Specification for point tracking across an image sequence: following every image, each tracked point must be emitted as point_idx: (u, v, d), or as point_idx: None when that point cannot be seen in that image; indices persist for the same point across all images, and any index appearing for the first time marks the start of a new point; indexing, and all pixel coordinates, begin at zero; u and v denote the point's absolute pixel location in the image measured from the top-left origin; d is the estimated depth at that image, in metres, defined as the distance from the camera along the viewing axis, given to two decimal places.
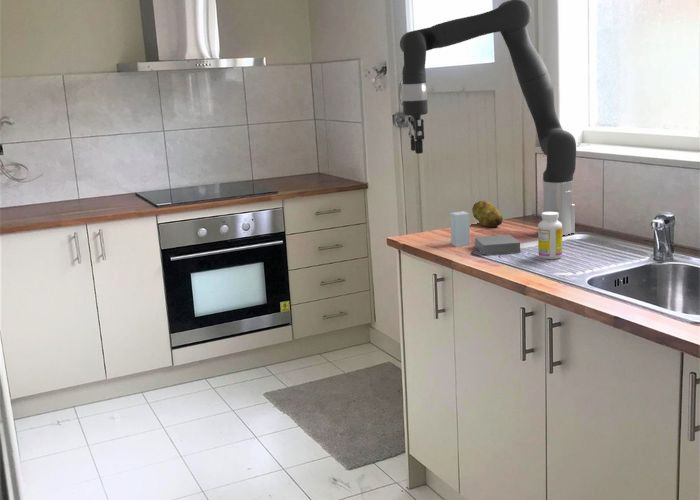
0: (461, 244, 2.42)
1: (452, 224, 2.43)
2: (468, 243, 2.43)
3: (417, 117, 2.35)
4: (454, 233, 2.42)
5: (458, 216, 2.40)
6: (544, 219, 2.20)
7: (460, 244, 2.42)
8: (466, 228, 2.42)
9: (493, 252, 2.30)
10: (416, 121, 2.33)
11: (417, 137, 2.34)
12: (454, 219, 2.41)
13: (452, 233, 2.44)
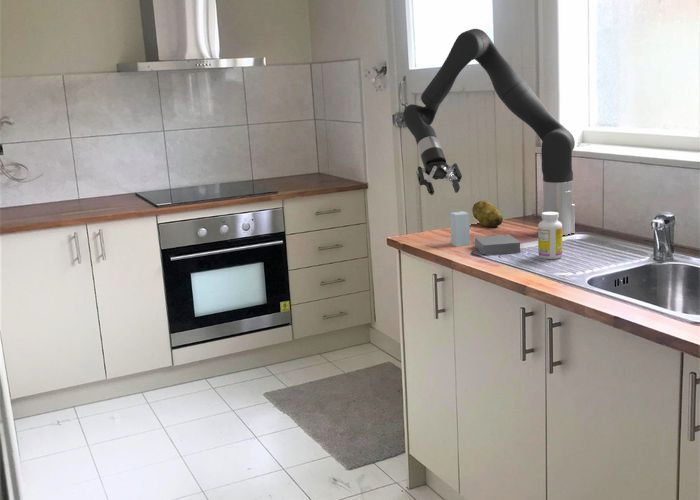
0: (461, 244, 2.42)
1: (452, 224, 2.43)
2: (468, 243, 2.43)
3: (425, 167, 2.56)
4: (454, 233, 2.42)
5: (458, 216, 2.40)
6: (544, 219, 2.20)
7: (460, 244, 2.42)
8: (466, 228, 2.42)
9: (493, 252, 2.30)
10: (416, 171, 2.56)
11: (419, 183, 2.53)
12: (454, 219, 2.41)
13: (452, 233, 2.44)
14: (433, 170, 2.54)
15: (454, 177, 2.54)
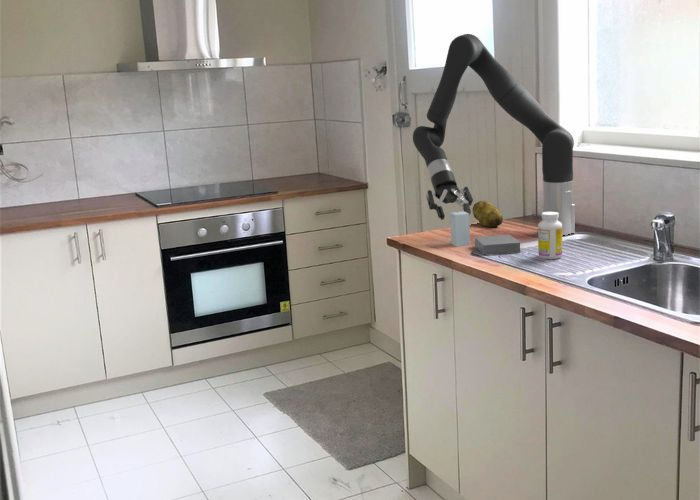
0: (461, 244, 2.42)
1: (452, 224, 2.43)
2: (468, 243, 2.43)
3: (435, 190, 2.50)
4: (454, 233, 2.42)
5: (458, 216, 2.40)
6: (544, 219, 2.20)
7: (460, 244, 2.42)
8: (466, 228, 2.42)
9: (493, 252, 2.30)
10: (426, 195, 2.50)
11: (429, 207, 2.47)
12: (454, 219, 2.41)
13: (452, 233, 2.44)
14: (443, 194, 2.48)
15: (465, 201, 2.48)
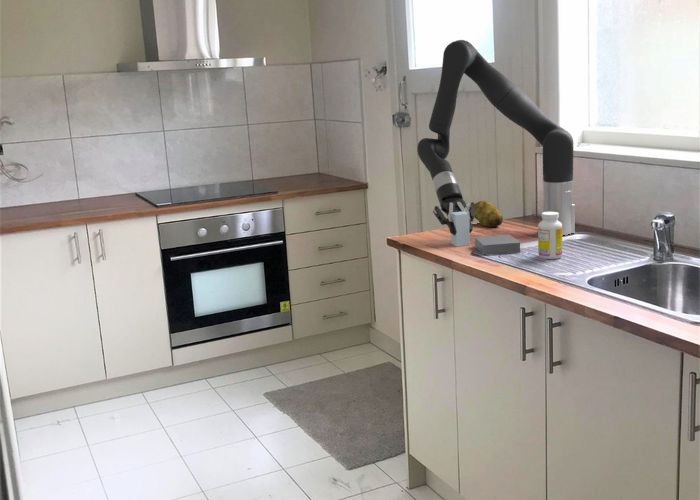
0: (461, 244, 2.42)
1: None
2: (468, 243, 2.43)
3: (440, 203, 2.47)
4: None
5: (458, 216, 2.40)
6: (544, 219, 2.20)
7: (460, 244, 2.42)
8: (466, 228, 2.42)
9: (493, 252, 2.30)
10: (433, 211, 2.46)
11: (441, 222, 2.44)
12: (454, 219, 2.41)
13: None
14: (451, 207, 2.44)
15: None
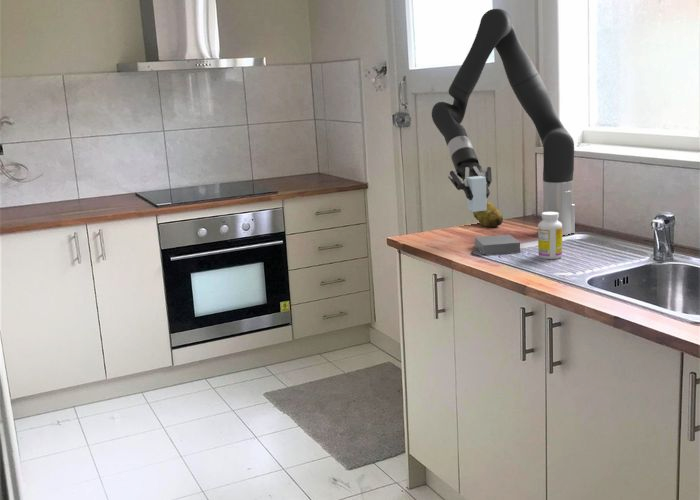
0: (478, 209, 2.36)
1: None
2: (485, 208, 2.36)
3: (456, 168, 2.40)
4: None
5: (474, 180, 2.33)
6: (544, 219, 2.20)
7: (477, 209, 2.35)
8: (483, 193, 2.35)
9: (493, 252, 2.30)
10: (448, 176, 2.39)
11: (457, 187, 2.37)
12: (470, 183, 2.34)
13: None
14: (466, 172, 2.38)
15: None
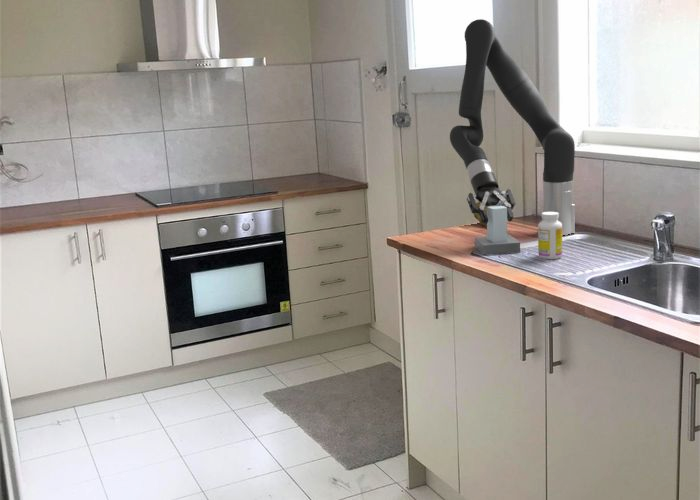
0: (498, 239, 2.33)
1: (489, 219, 2.33)
2: (505, 238, 2.33)
3: (476, 192, 2.37)
4: (491, 228, 2.33)
5: (495, 210, 2.30)
6: (544, 219, 2.20)
7: (497, 239, 2.32)
8: (503, 223, 2.32)
9: (493, 252, 2.30)
10: (467, 198, 2.36)
11: (471, 211, 2.34)
12: (491, 213, 2.31)
13: (488, 228, 2.34)
14: (485, 196, 2.34)
15: (507, 204, 2.34)
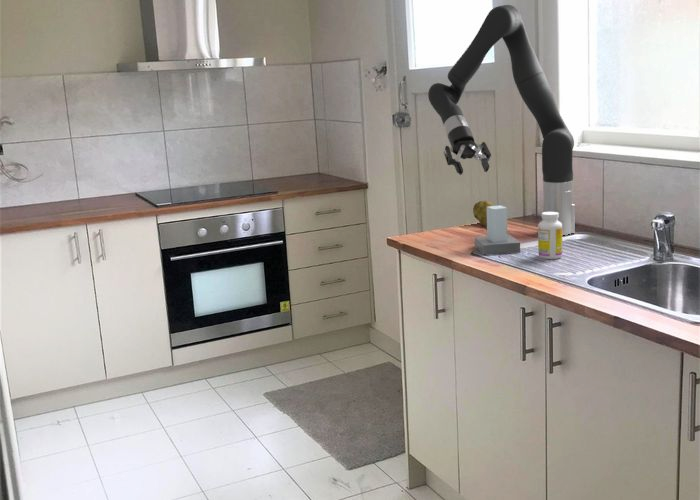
0: (498, 239, 2.33)
1: (489, 219, 2.33)
2: (505, 238, 2.33)
3: (452, 146, 2.49)
4: (491, 228, 2.33)
5: (495, 210, 2.30)
6: (544, 219, 2.20)
7: (497, 239, 2.32)
8: (503, 223, 2.32)
9: (493, 252, 2.30)
10: (444, 151, 2.48)
11: (447, 162, 2.46)
12: (491, 213, 2.31)
13: (488, 228, 2.34)
14: (461, 149, 2.46)
15: (483, 156, 2.46)
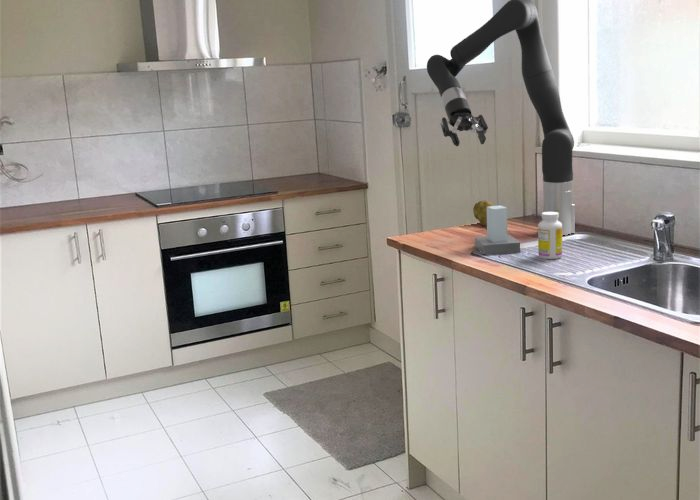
0: (498, 239, 2.33)
1: (489, 219, 2.33)
2: (505, 238, 2.33)
3: (449, 118, 2.48)
4: (491, 228, 2.33)
5: (495, 210, 2.30)
6: (544, 219, 2.20)
7: (497, 239, 2.32)
8: (503, 223, 2.32)
9: (493, 252, 2.30)
10: None
11: (444, 134, 2.45)
12: (491, 213, 2.31)
13: (488, 228, 2.34)
14: (458, 121, 2.45)
15: (480, 128, 2.46)
